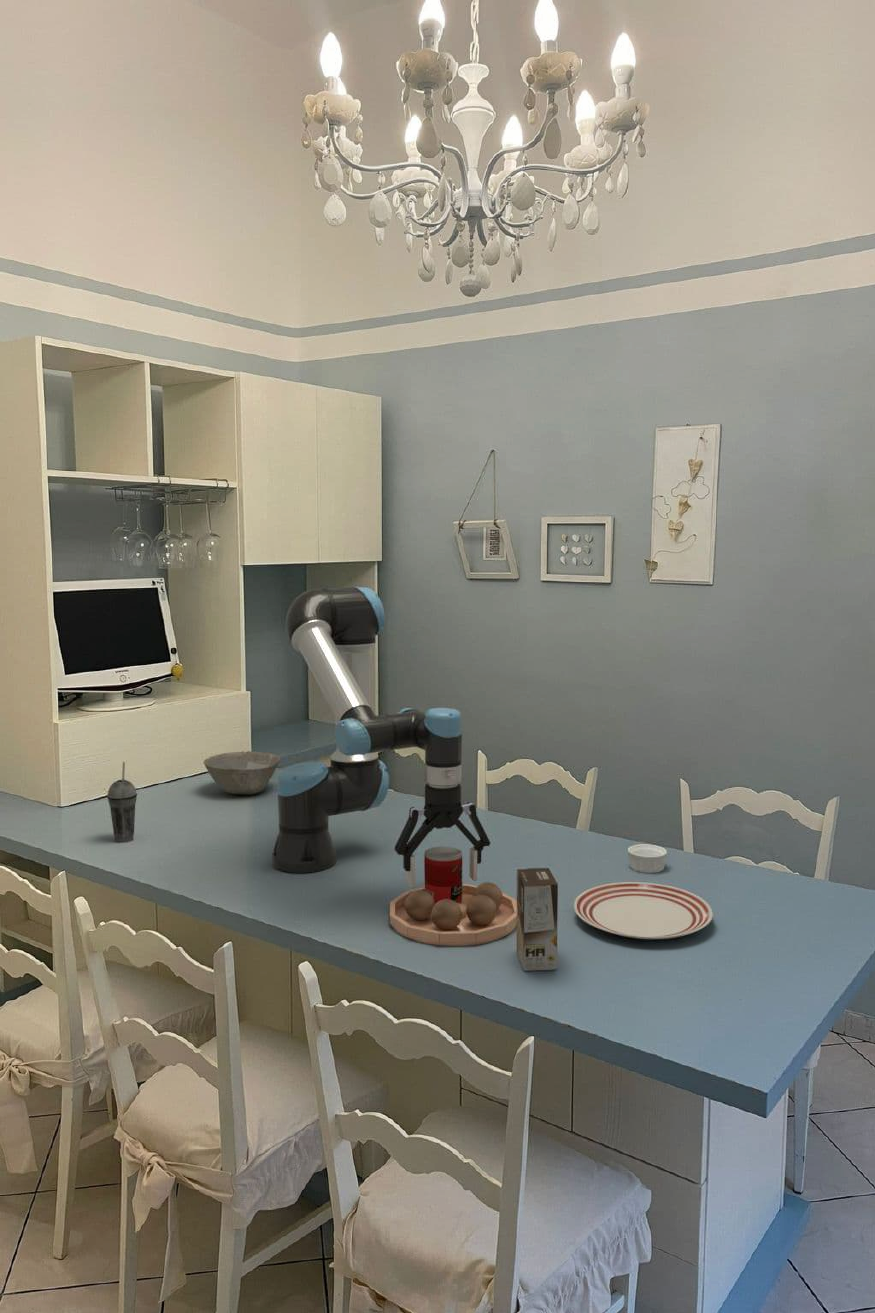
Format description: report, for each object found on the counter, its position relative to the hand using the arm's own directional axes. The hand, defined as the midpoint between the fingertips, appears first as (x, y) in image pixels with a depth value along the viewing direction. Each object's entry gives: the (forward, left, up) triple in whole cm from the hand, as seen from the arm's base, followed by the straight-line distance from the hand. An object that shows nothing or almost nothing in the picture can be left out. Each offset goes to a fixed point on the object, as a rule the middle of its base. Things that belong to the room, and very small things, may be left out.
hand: (442, 882), depth 209 cm
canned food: (0, 0, -5) cm, 5 cm away
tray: (+5, -5, -5) cm, 9 cm away
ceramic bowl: (-95, +52, -5) cm, 108 cm away
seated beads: (+6, -6, -4) cm, 10 cm away
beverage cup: (-93, +2, -5) cm, 93 cm away
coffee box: (+27, -15, -5) cm, 32 cm away
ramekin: (+31, +43, -5) cm, 53 cm away
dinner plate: (+39, +12, -6) cm, 42 cm away
